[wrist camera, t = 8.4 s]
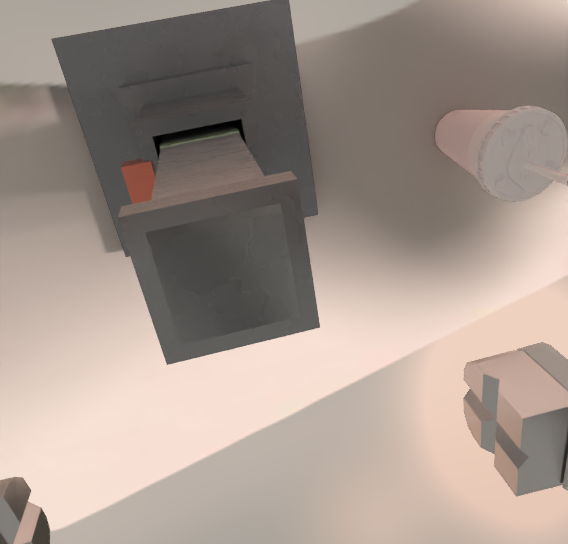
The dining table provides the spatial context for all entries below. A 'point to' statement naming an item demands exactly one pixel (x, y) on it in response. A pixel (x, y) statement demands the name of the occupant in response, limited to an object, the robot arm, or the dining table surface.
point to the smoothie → (506, 148)
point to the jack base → (188, 94)
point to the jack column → (219, 247)
